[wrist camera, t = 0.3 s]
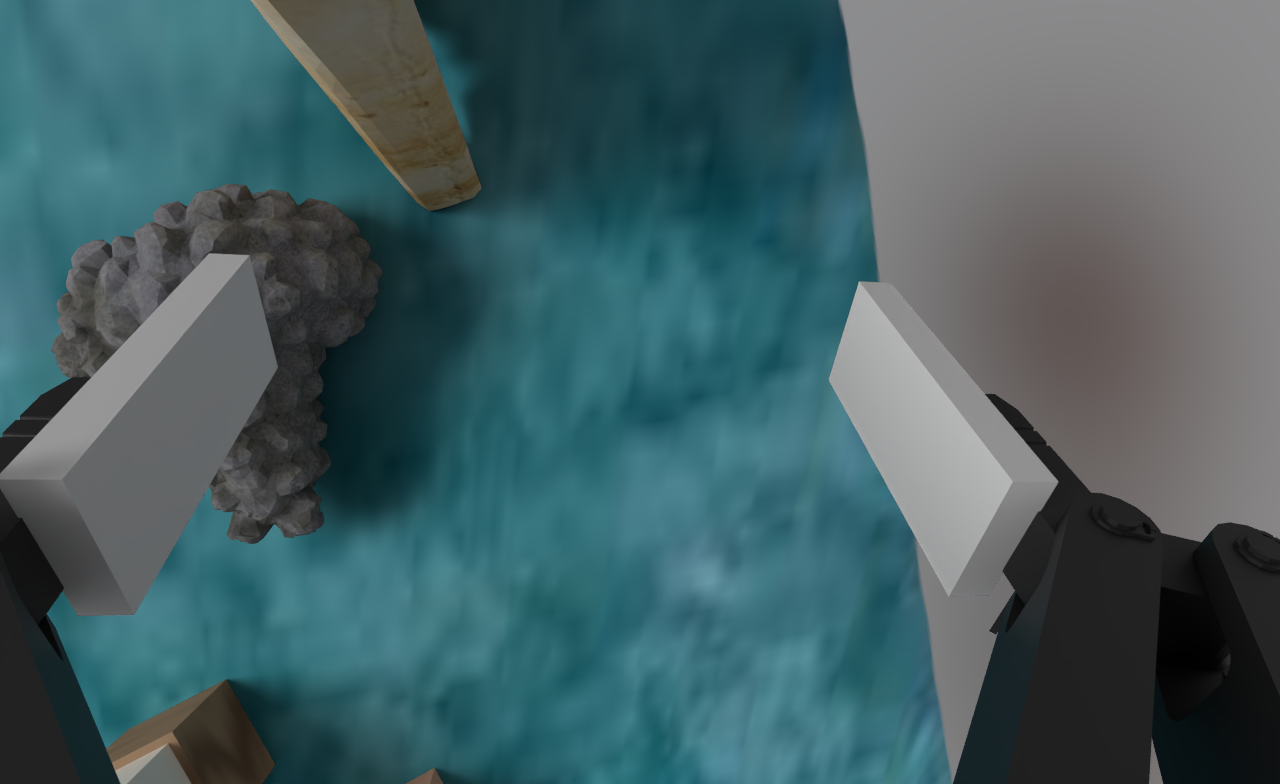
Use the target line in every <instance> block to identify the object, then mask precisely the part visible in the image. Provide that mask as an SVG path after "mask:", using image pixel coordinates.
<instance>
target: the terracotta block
mask: <svg viewBox="0 0 1280 784" xmlns="http://www.w3.org/2000/svg"><path fill="white" fill-rule="evenodd" d="M406 784H443V782H442V781H441V779H440V777H439V775H438V773H437V771H436V770H435V768H433V769H431V770H430V771H428V772H426V773H424V774H422V775H420V776H419V777H417V778H415V779H413V780H411V781H409V782H408V783H406Z"/></svg>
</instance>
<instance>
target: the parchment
mask: <svg viewBox="0 0 1280 784" xmlns="http://www.w3.org/2000/svg"><path fill="white" fill-rule="evenodd" d="M251 1H252V2H253V4H254V5H255V6H256V8H257V9H258V10H259V12H260V13H261V14H262V16H263V17H264V18H265V19H266V21H267V22H268V23H269V25H270V26H271V27H272V28H273V30H274V31H275V32H276V33H277V35H278V36H279V37H280V38H281V40H282V41H283V42H284V43H285V45H286V46H287V47H288V48H289V50H290V51H291V52H292V53H293V54H294V56H295V57H296V58H297V59H298V60H299V62H300V63H301V64H302V65H303V66H304V68H305V69H306V70H307V71H308V72H309V74H310V75H311V76H312V77H313V78H314V80H315V81H316V82H317V83H318V84H319V86H320V87H321V88H322V89H323V90H324V92H325V93H326V94H327V95H328V96H329V98H330V99H331V100H332V101H333V102H334V104H335V105H336V106H337V107H338V109H339V110H340V111H341V112H342V113H343V115H344V116H345V117H346V118H347V120H348V121H349V122H350V123H351V124H352V126H353V127H354V128H355V129H356V131H357V132H358V133H359V134H360V135H361V137H362V138H363V139H364V140H365V142H366V143H367V144H368V145H369V146H370V148H371V149H372V150H373V151H374V152H375V154H376V155H377V156H378V157H379V158H380V160H381V161H382V162H383V163H384V164H385V166H386V167H387V168H388V169H389V170H390V171H391V173H392V174H393V175H394V176H395V177H396V178H397V180H398V181H399V182H400V183H401V184H402V186H403V187H404V188H405V189H406V190H407V192H408V193H409V194H410V195H411V196H412V197H413V198H414V199H415V201H416V202H417V203H418V204H420V205H421V206H423V207H424V208H426V209H427V210H429V211H433V210H437V209H441V208H445V207H449V206H452V205H455V204H457V203H460V202H463V201H466V200H469V199H471V198H474V197H475V196H476V194H477V193H478V192H479V191H480V190H481V188H482V187H481V184H480V182H479V179H478V176H477V174H476V171H475V168H474V165H473V162H472V159H471V156H470V153H469V150H468V147H467V144H466V141H465V139H464V136H463V133H462V131H461V128H460V125H459V123H458V120H457V117H456V115H455V112H454V109H453V106H452V104H451V101H450V98H449V95H448V93H447V90H446V87H445V84H444V82H443V79H442V76H441V73H440V71H439V68H438V65H437V62H436V60H435V57H434V54H433V52H432V49H431V46H430V43H429V41H428V38H427V35H426V33H425V30H424V27H423V24H422V22H421V19H420V16H419V14H418V11H417V8H416V6H415V3H414V0H251Z"/></svg>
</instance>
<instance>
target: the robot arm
mask: <svg viewBox="0 0 1280 784" xmlns="http://www.w3.org/2000/svg"><path fill="white" fill-rule="evenodd" d="M277 368H278V365H277V361H276V357H275V354H274V350H273V346H272V342H271V338H270V334H269V330H268V326H267V322H266V318H265V314H264V310H263V306H262V302H261V298H260V294H259V290H258V286H257V283H256V279H255V275H254V271H253V267H252V263H251V259H250V255H233V254H210V253H209V254H208V255H207V256H206V257H205V258H204V260H203V261H202V262H201V263H200V264H199V265H198V266H197V267H196V268H195V269H194V270H193V271H192V272H191V273H190V274H189V275H188V276H187V277H186V278H185V280H184V281H183V282H182V283H181V284H180V285H179V286H178V287H177V288H176V289H175V290H174V291H173V292H172V293H171V294H170V295H169V296H168V297H167V298H166V300H165V301H164V302H163V303H162V304H161V305H160V306H159V307H158V308H157V309H156V310H155V311H154V312H153V313H152V314H151V315H150V316H149V317H148V318H147V320H146V321H145V322H144V323H143V324H142V325H141V326H140V327H139V328H138V329H137V330H136V331H135V332H134V333H133V334H132V335H131V336H130V337H129V338H128V340H127V341H126V342H125V343H124V344H123V345H122V346H121V347H120V348H119V349H118V350H117V351H116V352H115V353H114V354H113V355H112V356H111V357H110V358H109V360H108V361H107V362H106V363H105V364H104V365H103V366H102V367H101V368H100V369H99V370H98V371H97V372H96V373H95V374H94V375H93V376H92V377H73V378H71V379H69V380H67V381H65V382H64V383H62V384H60V385H58V386H56V387H55V388H53V389H51V390H49V391H48V392H46V393H44V394H42V395H41V396H40V397H39V398H38V399H37V400H36V401H35V402H34V403H33V404H32V405H31V406H30V407H29V408H28V409H27V410H25V411H24V412H23V413H22V414H21V415H20V420H15V421H14V422H13V423H12V424H11V425H10V426H9V427H8V428H7V429H6V430H5V431H4V432H3V437H2V438H0V784H121V783H120V781H119V779H118V776H117V774H116V772H115V769H114V767H113V764H112V762H111V760H110V757H109V755H108V752H107V750H106V748H105V745H104V743H103V740H102V738H101V736H100V733H99V731H98V728H97V726H96V724H95V721H94V719H93V717H92V714H91V712H90V709H89V707H88V705H87V702H86V700H85V697H84V695H83V693H82V690H81V688H80V685H79V683H78V681H77V678H76V676H75V673H74V671H73V669H72V666H71V664H70V662H69V659H68V657H67V654H66V652H65V650H64V647H63V645H62V642H61V640H60V638H59V635H58V633H57V630H56V628H55V626H54V625H53V623H52V622H51V620H50V618H49V617H48V615H47V614H46V613H47V612H48V611H49V609H50V608H51V606H52V605H53V603H54V602H55V601H56V599H57V598H58V596H59V595H60V594H61V592H62V591H63V592H64V594H65V595H66V597H67V599H68V600H69V602H70V604H71V605H72V607H73V608H74V610H75V612H76V613H77V615H78V616H97V615H134V614H135V613H136V611H137V609H138V607H139V606H140V604H141V602H142V600H143V599H144V597H145V595H146V594H147V592H148V590H149V588H150V587H151V585H152V583H153V582H154V580H155V578H156V576H157V575H158V573H159V571H160V569H161V568H162V566H163V564H164V563H165V561H166V559H167V557H168V556H169V554H170V552H171V551H172V549H173V547H174V545H175V544H176V542H177V540H178V539H179V537H180V535H181V533H182V532H183V530H184V528H185V526H186V525H187V523H188V521H189V520H190V518H191V516H192V514H193V513H194V511H195V509H196V508H197V506H198V504H199V502H200V501H201V499H202V497H203V495H204V494H205V492H206V490H207V489H208V487H209V485H210V483H211V482H212V480H213V478H214V477H215V475H216V473H217V471H218V470H219V468H220V466H221V465H222V463H223V461H224V459H225V458H226V456H227V454H228V452H229V451H230V449H231V447H232V446H233V444H234V442H235V440H236V439H237V437H238V435H239V434H240V432H241V430H242V428H243V427H244V425H245V423H246V421H247V420H248V418H249V416H250V415H251V413H252V411H253V409H254V408H255V406H256V404H257V403H258V401H259V399H260V397H261V396H262V394H263V392H264V390H265V389H266V387H267V385H268V384H269V382H270V380H271V378H272V377H273V375H274V373H275V372H276V370H277ZM829 381H830V383H831V385H832V387H833V388H834V390H835V392H836V394H837V396H838V398H839V399H840V401H841V403H842V405H843V407H844V408H845V410H846V412H847V414H848V416H849V417H850V419H851V421H852V423H853V425H854V426H855V428H856V430H857V432H858V434H859V435H860V437H861V439H862V441H863V443H864V445H865V446H866V448H867V450H868V452H869V454H870V455H871V457H872V459H873V461H874V463H875V464H876V466H877V468H878V470H879V472H880V473H881V475H882V477H883V479H884V481H885V482H886V484H887V486H888V488H889V490H890V492H891V493H892V495H893V497H894V499H895V501H896V502H897V504H898V506H899V508H900V510H901V511H902V513H903V515H904V517H905V519H906V520H907V522H908V524H909V526H910V528H911V529H912V531H913V533H914V535H915V537H916V539H917V540H918V542H919V544H920V546H921V548H922V549H923V551H924V553H925V555H926V557H927V558H928V560H929V562H930V564H931V566H932V567H933V569H934V571H935V573H936V575H937V577H938V578H939V580H940V582H941V584H942V585H943V587H944V589H945V591H946V593H947V595H948V596H949V597H964V596H989V595H990V594H991V592H992V590H993V589H994V587H995V585H996V584H997V582H998V580H999V578H1000V577H1001V575H1002V574H1003V573H1004V574H1005V576H1006V577H1007V579H1008V580H1009V582H1010V583H1011V585H1012V586H1013V588H1014V589H1015V592H1014V593H1013V595H1012V596H1011V598H1010V599H1009V601H1008V602H1007V604H1006V606H1005V607H1004V609H1003V610H1002V612H1001V613H1000V615H999V617H998V618H997V620H996V621H995V623H994V624H993V626H992V627H991V629H990V632H992V633H994V634H996V633H997V632H998V634H997V638H996V641H995V645H994V648H993V651H992V654H991V658H990V661H989V665H988V668H987V671H986V675H985V678H984V681H983V685H982V688H981V691H980V695H979V698H978V701H977V705H976V708H975V711H974V715H973V718H972V722H971V725H970V728H969V732H968V735H967V738H966V742H965V745H964V748H963V752H962V755H961V758H960V762H959V765H958V769H957V772H956V775H955V779H954V782H953V784H1149V773H1150V757H1151V739H1153V744H1154V748H1155V752H1156V756H1157V760H1158V764H1159V768H1160V772H1161V776H1162V780H1163V784H1280V539H1278V538H1274V537H1273V536H1272V535H1270V534H1268V533H1266V532H1264V531H1260V530H1257V529H1254V528H1252V527H1249V526H1247V525H1241V524H1235V523H1224V524H1218V525H1217V526H1216V527H1215V528H1214V529H1213V530H1212V531H1211V532H1210V533H1209V534H1208V536H1207V537H1206V538H1205V539H1204V540H1203V542H1198V541H1193V540H1188V539H1184V538H1180V537H1176V536H1171V535H1167V534H1163V533H1161V532H1160V530H1159V528H1158V527H1157V526H1156V525H1155V523H1154V522H1153V521H1152V520H1151V519H1150V518H1149V517H1148V516H1147V515H1145V514H1144V513H1143V512H1141V511H1140V510H1139V509H1138V508H1136V507H1134V506H1132V505H1130V504H1128V503H1127V502H1125V501H1123V500H1121V499H1118V498H1115V497H1112V496H1109V495H1106V494H1102V493H1091V492H1090V491H1089V490H1088V489H1087V488H1086V486H1085V485H1084V484H1083V483H1082V482H1081V481H1080V480H1079V478H1078V477H1077V476H1076V475H1075V474H1074V473H1073V472H1072V471H1071V469H1069V467H1068V466H1067V465H1066V464H1065V463H1064V461H1063V460H1062V459H1061V458H1060V457H1059V456H1058V455H1057V454H1056V452H1055V451H1053V449H1052V448H1051V447H1050V446H1046V441H1045V440H1044V439H1043V438H1042V437H1041V436H1040V434H1039V433H1038V432H1037V431H1033V427H1032V425H1031V424H1030V423H1029V422H1028V421H1027V420H1026V418H1025V417H1024V416H1023V415H1022V414H1021V413H1020V412H1019V411H1018V410H1017V409H1016V408H1014V407H1013V406H1011V405H1010V404H1008V403H1007V402H1005V401H1004V400H1003V399H1001V398H1000V397H998V396H997V395H995V394H984V393H983V392H982V390H981V389H980V388H979V387H978V386H977V385H976V383H975V382H974V381H973V380H972V379H971V378H970V376H969V375H968V374H967V373H966V372H965V371H964V369H963V368H962V367H961V366H960V364H959V363H958V362H957V361H956V360H955V359H954V357H953V356H952V355H951V354H950V353H949V352H948V350H947V349H946V348H945V347H944V346H943V344H942V343H941V342H940V341H939V340H938V338H937V337H936V336H935V335H934V334H933V333H932V331H931V330H930V329H929V328H928V327H927V325H925V323H924V322H923V321H922V320H921V318H920V317H919V316H918V315H917V314H916V312H915V311H914V310H913V309H912V308H911V306H910V305H909V304H908V303H907V302H906V301H905V300H904V298H903V297H902V296H901V295H900V293H899V292H898V291H897V290H896V289H895V288H894V286H893V285H892V284H891V283H880V282H859V284H858V287H857V290H856V294H855V297H854V300H853V303H852V307H851V310H850V313H849V316H848V319H847V323H846V326H845V329H844V332H843V336H842V339H841V342H840V345H839V348H838V352H837V355H836V358H835V361H834V365H833V368H832V371H831V374H830V378H829Z"/></svg>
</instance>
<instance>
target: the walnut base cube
mask: <svg viewBox="0 0 1280 784" xmlns="http://www.w3.org/2000/svg"><path fill="white" fill-rule="evenodd" d="M166 744H169V746H170V748H171V750H172V751H173V753H174V755H175V756H176V758H177V760H178V761H179V763H180V765H181V767H182V768H183V770H184V772H185V773H186V775H187V777H188V779H189V780H190V782H191V784H262V783H263V782H264V781H265V779H266V778H267V776H268V775H269V773H270V772H271V770H272V769H273V767H274V766H275V763H274V762H273V760H272V758H271V756H270V755H269V753H268V751H267V749H266V748H265V746H264V744H263V742H262V741H261V739H260V737H259V735H258V734H257V732H256V730H255V728H254V727H253V725H252V723H251V722H250V720H249V718H248V716H247V715H246V713H245V711H244V709H243V708H242V706H241V704H240V702H239V701H238V699H237V697H236V695H235V694H234V692H233V690H232V688H231V687H230V685H229V683H228V681H227V680H224V681H222V682H220V683H218V684H216V685H214V686H212V687H210V688H208V689H207V690H205V691H203V692H201V693H199V694H197V695H195V696H193V697H191V698H189V699H187V700H185V701H183V702H181V703H179V704H177V705H175V706H173V707H172V708H170V709H168V710H166V711H164V712H162V713H160V714H158V715H156V716H154V717H152V718H150V719H148V720H146V721H144V722H142V723H140V724H139V725H137V726H135V727H133V728H131V729H129V730H128V731H126V732H125V733H124V734H123V735H122V736H121V737H119V738H118V739H117V740H116V741H115V742H114V743H112V744H111V745H110V746H109V747H108V748H107V749H106V750H107V752H108V755H109V757H110V760H111V762H112V764H113V767H114V769H115V771H116V770H118V769H120V768H121V767H123V766H125V765H127V764H129V763H131V762H133V761H135V760H137V759H139V758H141V757H143V756H145V755H146V754H148V753H150V752H152V751H154V750H156V749H158V748H160V747H162V746H164V745H166Z"/></svg>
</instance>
